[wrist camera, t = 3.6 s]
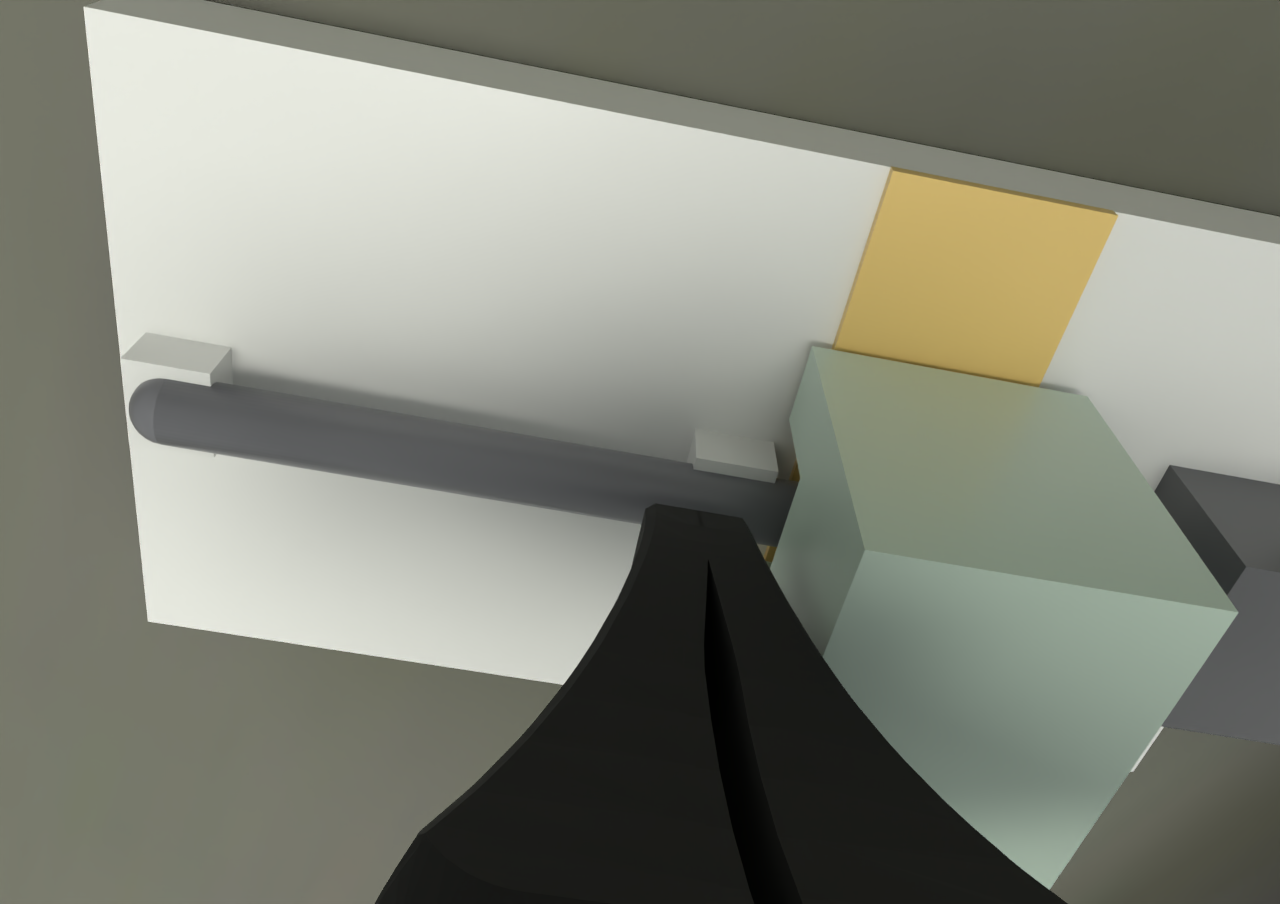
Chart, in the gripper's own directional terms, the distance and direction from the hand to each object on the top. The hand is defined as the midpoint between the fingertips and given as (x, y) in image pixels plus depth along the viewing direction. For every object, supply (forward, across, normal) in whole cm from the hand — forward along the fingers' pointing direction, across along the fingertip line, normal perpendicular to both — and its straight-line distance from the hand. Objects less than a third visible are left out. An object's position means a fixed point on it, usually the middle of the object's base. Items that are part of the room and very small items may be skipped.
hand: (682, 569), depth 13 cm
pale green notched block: (+2, -3, 0) cm, 4 cm away
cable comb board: (+4, -1, 0) cm, 4 cm away
